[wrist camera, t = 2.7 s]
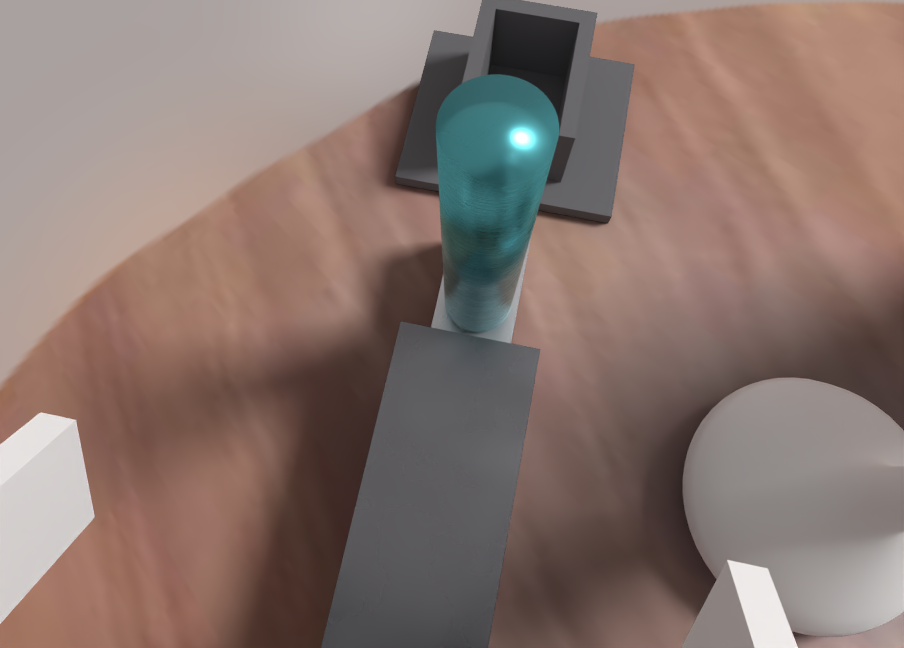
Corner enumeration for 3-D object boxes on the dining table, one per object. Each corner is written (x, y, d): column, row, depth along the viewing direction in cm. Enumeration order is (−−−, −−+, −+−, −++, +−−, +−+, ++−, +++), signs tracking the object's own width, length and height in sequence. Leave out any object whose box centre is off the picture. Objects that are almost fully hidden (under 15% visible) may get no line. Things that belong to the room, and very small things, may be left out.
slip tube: (527, 240, 32) (599, -23, 16) (448, 653, 27) (438, 878, 11) (460, 227, 33) (465, -45, 16) (369, 634, 27) (241, 826, 11)
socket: (630, 73, 37) (657, 8, 32) (608, 223, 34) (633, 176, 29) (434, 40, 37) (431, -29, 33) (396, 183, 35) (387, 131, 30)
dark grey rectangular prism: (524, 377, 31) (540, 349, 26) (457, 748, 27) (458, 814, 21) (410, 354, 32) (400, 321, 26) (325, 715, 27) (290, 771, 21)
